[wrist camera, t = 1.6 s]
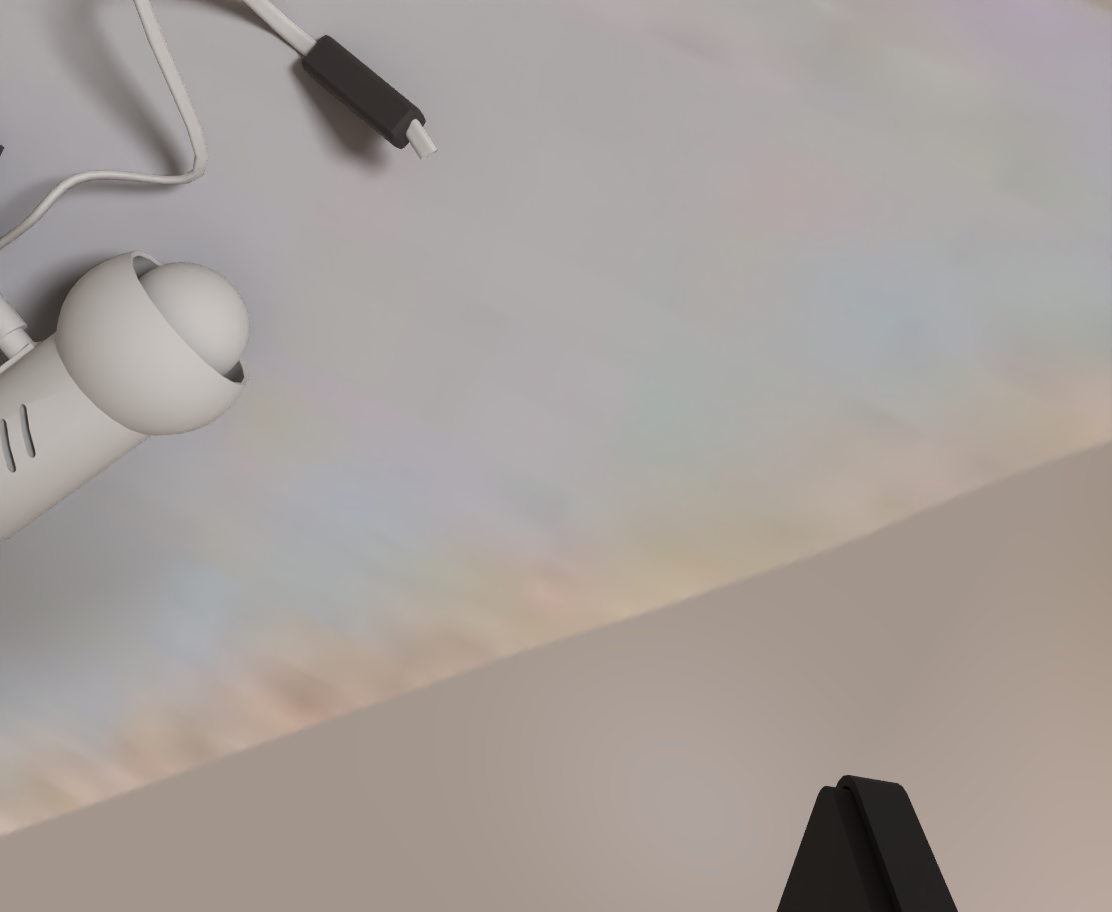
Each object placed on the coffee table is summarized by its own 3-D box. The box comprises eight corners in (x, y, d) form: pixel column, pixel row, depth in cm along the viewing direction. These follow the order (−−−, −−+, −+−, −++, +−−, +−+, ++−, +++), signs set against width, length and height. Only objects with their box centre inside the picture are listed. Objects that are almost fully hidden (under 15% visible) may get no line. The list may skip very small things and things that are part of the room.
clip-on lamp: (241, -125, 27) (-254, 253, 28) (173, -247, 21) (-462, 243, 22) (489, 221, 30) (26, 564, 30) (494, 203, 23) (-90, 637, 24)
